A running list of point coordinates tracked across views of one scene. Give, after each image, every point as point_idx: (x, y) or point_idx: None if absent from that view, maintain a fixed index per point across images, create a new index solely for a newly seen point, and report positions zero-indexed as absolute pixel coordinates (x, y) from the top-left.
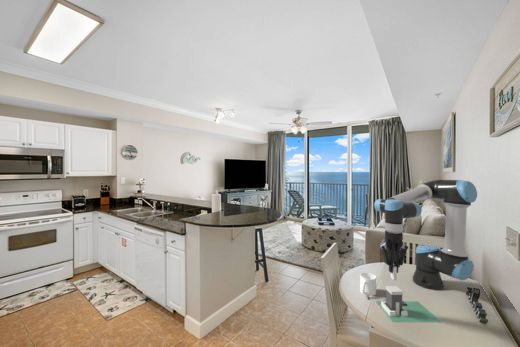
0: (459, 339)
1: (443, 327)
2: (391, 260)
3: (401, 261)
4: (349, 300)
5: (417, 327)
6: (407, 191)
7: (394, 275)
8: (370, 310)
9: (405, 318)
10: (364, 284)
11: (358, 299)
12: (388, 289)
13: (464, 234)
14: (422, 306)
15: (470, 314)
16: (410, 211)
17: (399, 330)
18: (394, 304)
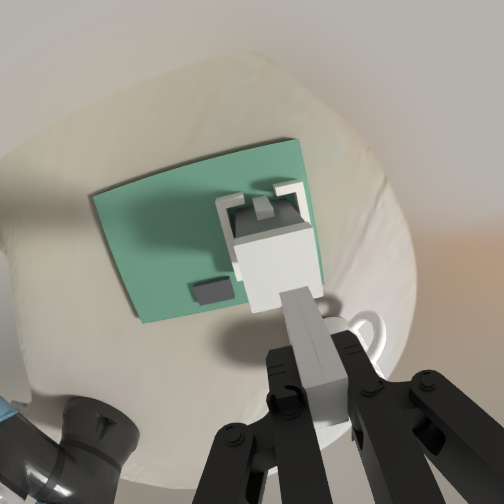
0: (75, 125)
1: (97, 180)
2: (412, 443)
3: (234, 473)
4: (414, 271)
5: (195, 145)
6: None
7: (310, 312)
8: (359, 221)
9: (231, 179)
10: (380, 338)
11: (380, 288)
12: (317, 263)
13: None
14: (132, 292)
15: (16, 287)
16: None
17: (280, 105)
18: (278, 211)
